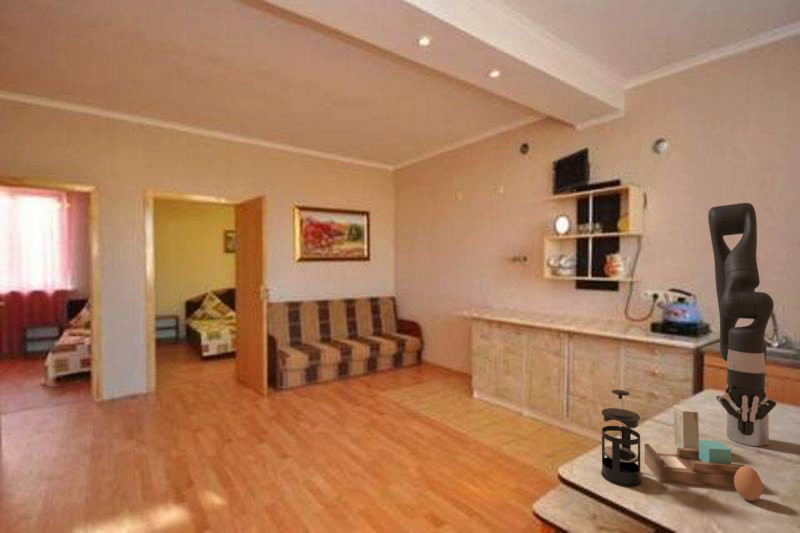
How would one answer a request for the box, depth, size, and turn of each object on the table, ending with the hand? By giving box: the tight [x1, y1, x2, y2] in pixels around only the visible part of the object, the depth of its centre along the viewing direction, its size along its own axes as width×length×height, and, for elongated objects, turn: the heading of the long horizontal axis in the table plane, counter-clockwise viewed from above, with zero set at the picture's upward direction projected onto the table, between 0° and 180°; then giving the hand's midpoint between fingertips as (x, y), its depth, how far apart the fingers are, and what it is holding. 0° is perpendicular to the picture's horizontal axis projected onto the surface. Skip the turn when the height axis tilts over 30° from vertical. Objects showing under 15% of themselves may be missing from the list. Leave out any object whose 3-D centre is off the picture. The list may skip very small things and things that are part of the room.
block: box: [699, 439, 732, 464], centre depth 107 cm, size 5×5×5 cm
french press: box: [600, 389, 642, 488], centre depth 107 cm, size 12×9×23 cm
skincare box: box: [673, 404, 700, 449], centre depth 123 cm, size 6×4×12 cm
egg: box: [734, 465, 763, 502], centre depth 96 cm, size 5×5×8 cm
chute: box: [644, 443, 746, 489], centre depth 108 cm, size 20×10×6 cm, turn 79°
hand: (745, 434), depth 105 cm, fingers closed
